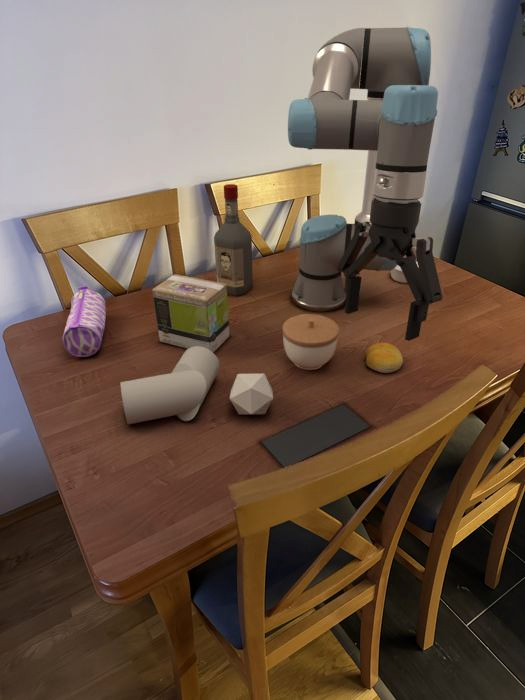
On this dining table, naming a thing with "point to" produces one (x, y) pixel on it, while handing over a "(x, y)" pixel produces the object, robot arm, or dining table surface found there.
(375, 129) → the robot arm
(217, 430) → the dining table surface
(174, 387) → the bent grey cylinder
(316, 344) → the cork-lidded white jar
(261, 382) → the die
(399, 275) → the ramekin
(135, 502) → the dining table surface
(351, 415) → the edge mat
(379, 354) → the bread roll
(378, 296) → the dining table surface
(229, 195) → the liquor
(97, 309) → the pencil case
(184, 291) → the tea box
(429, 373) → the dining table surface
